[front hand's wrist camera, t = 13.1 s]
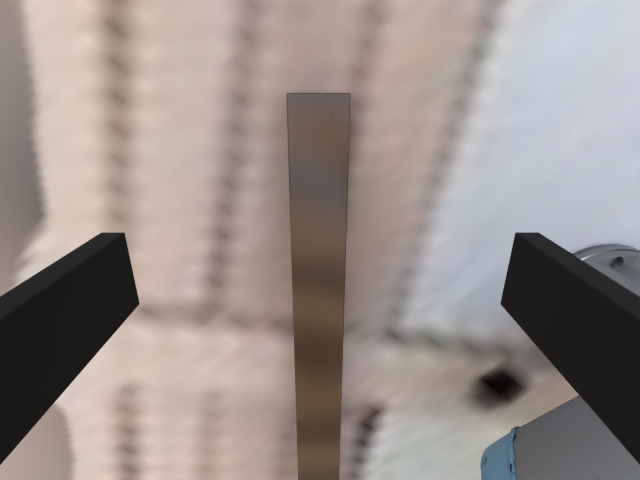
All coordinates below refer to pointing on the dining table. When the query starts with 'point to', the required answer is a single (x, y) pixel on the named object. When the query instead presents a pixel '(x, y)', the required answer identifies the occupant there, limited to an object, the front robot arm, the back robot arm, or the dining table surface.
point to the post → (318, 272)
